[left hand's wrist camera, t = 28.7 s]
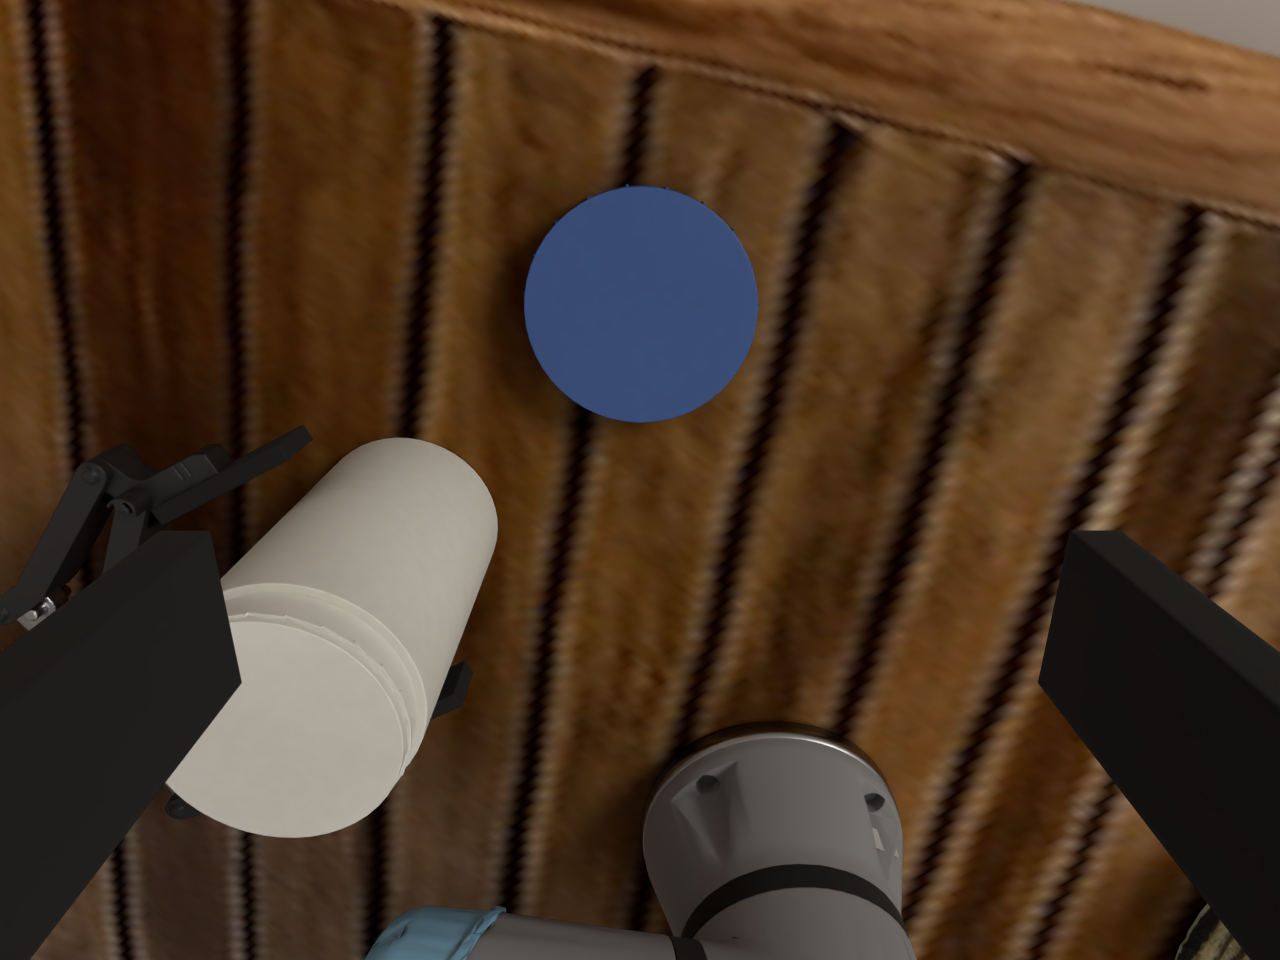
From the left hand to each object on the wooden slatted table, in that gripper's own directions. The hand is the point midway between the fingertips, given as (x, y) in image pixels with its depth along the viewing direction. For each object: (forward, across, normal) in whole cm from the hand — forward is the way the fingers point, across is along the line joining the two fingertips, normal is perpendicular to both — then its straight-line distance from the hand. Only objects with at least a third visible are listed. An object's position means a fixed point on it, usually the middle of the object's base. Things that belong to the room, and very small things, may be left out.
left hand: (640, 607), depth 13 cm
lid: (+26, 0, 0) cm, 26 cm away
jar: (+28, +12, +11) cm, 32 cm away
